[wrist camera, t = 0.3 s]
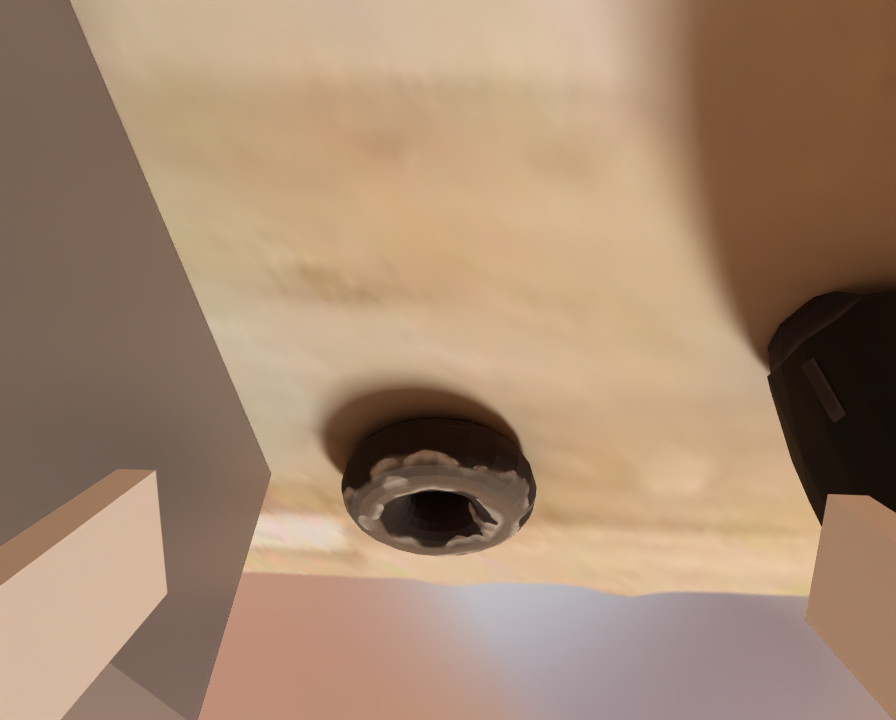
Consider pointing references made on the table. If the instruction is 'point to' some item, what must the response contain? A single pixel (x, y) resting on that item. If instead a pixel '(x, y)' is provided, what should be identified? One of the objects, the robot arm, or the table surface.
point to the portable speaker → (839, 395)
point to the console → (112, 361)
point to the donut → (438, 487)
